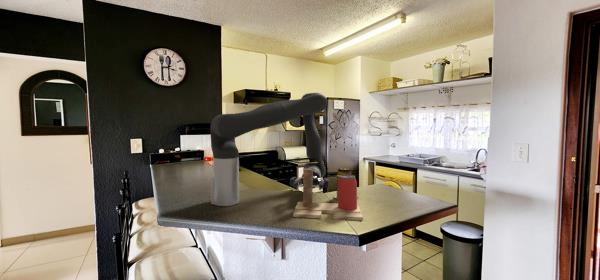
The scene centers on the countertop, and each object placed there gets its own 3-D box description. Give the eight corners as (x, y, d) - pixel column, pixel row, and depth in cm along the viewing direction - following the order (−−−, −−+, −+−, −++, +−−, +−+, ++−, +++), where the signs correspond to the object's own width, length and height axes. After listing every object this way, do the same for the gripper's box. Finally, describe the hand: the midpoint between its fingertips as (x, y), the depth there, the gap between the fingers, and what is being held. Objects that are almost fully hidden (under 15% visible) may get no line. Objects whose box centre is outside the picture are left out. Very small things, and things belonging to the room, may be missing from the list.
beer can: (356, 214, 87) (355, 178, 86) (336, 212, 89) (335, 177, 88) (357, 208, 93) (357, 174, 93) (339, 206, 95) (339, 174, 95)
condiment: (332, 197, 107) (332, 168, 107) (346, 194, 112) (346, 166, 112) (345, 201, 101) (345, 170, 101) (359, 198, 107) (360, 168, 106)
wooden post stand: (294, 211, 89) (295, 170, 88) (297, 204, 97) (298, 167, 96) (360, 214, 87) (361, 173, 86) (358, 207, 95) (359, 168, 94)
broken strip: (292, 216, 84) (293, 213, 84) (294, 212, 88) (294, 209, 88) (362, 220, 82) (362, 217, 82) (361, 216, 86) (361, 213, 86)
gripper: (294, 167, 108) (287, 175, 92) (329, 168, 107) (328, 176, 91) (294, 185, 109) (287, 196, 93) (328, 186, 107) (328, 198, 91)
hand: (307, 186), depth 92 cm, fingers open, 8 cm apart
